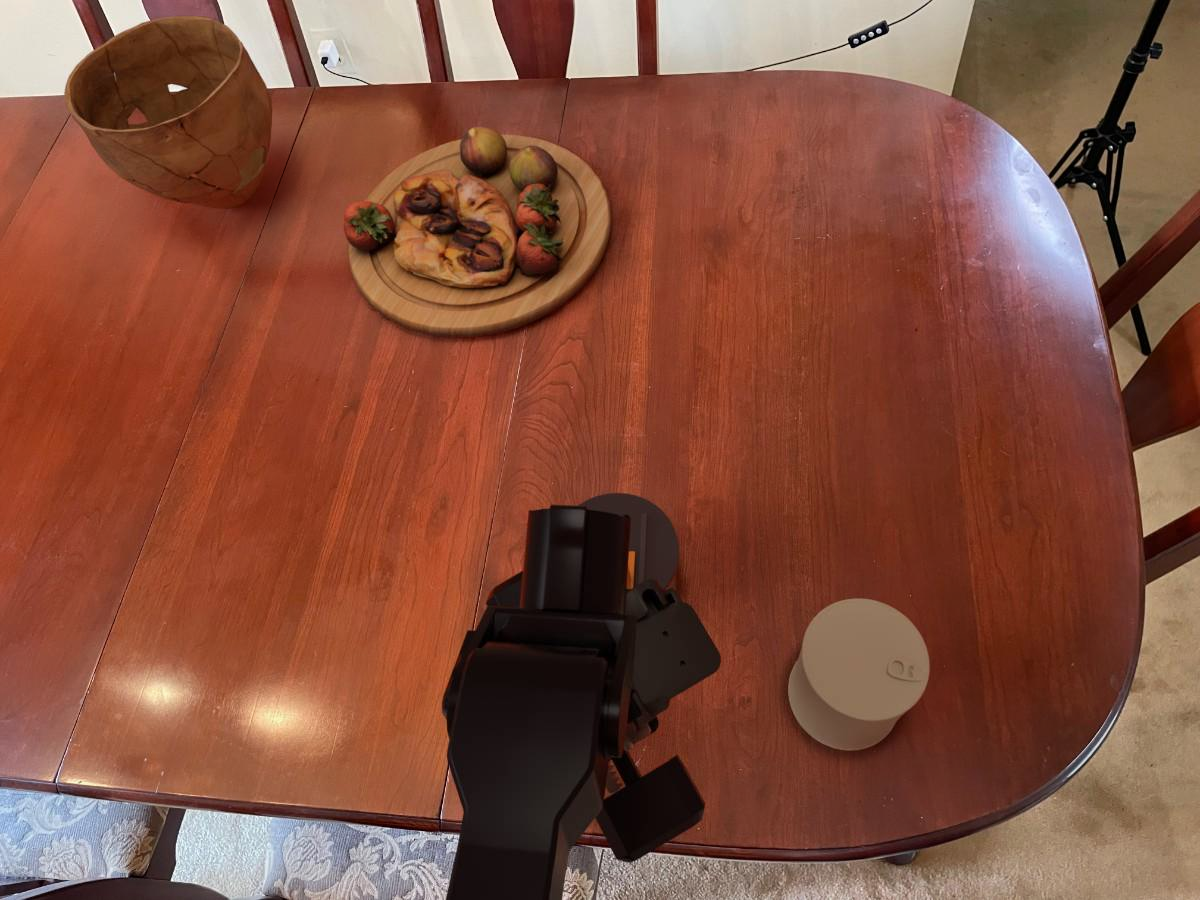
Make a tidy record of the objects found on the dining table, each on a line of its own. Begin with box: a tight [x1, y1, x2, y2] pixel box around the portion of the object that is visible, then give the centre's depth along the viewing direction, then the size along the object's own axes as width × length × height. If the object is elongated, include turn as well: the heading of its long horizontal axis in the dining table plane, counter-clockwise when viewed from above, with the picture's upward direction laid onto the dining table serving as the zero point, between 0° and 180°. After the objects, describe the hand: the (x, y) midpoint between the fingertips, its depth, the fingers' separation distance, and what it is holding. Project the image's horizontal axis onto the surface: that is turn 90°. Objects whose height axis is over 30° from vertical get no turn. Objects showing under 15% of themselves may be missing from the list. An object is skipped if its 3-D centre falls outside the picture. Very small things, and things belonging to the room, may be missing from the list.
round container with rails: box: [577, 492, 680, 607], centre depth 75 cm, size 11×11×9 cm
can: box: [787, 597, 931, 752], centre depth 67 cm, size 9×9×12 cm
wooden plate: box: [343, 125, 613, 339], centre depth 99 cm, size 32×32×8 cm
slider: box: [627, 551, 635, 589], centre depth 69 cm, size 3×4×3 cm
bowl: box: [63, 15, 273, 210], centre depth 102 cm, size 21×20×20 cm
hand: (607, 697), depth 62 cm, fingers closed
